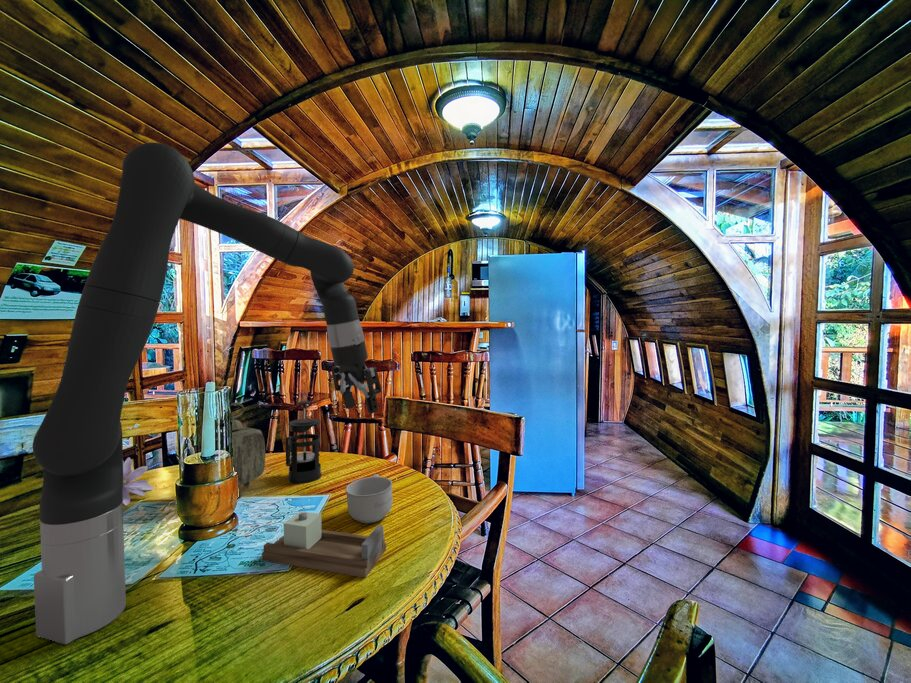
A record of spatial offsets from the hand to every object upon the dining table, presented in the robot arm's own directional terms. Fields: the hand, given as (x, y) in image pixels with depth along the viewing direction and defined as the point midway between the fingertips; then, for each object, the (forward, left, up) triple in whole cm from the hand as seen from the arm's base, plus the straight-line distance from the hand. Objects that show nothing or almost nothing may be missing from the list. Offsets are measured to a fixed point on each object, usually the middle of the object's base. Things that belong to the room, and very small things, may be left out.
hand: (361, 409), depth 90 cm
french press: (+20, +30, -27) cm, 44 cm away
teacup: (+4, 0, -27) cm, 27 cm away
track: (-14, +1, -26) cm, 30 cm away
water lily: (-4, +66, -27) cm, 71 cm away
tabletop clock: (+4, +40, -27) cm, 48 cm away
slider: (-14, +6, -25) cm, 29 cm away
